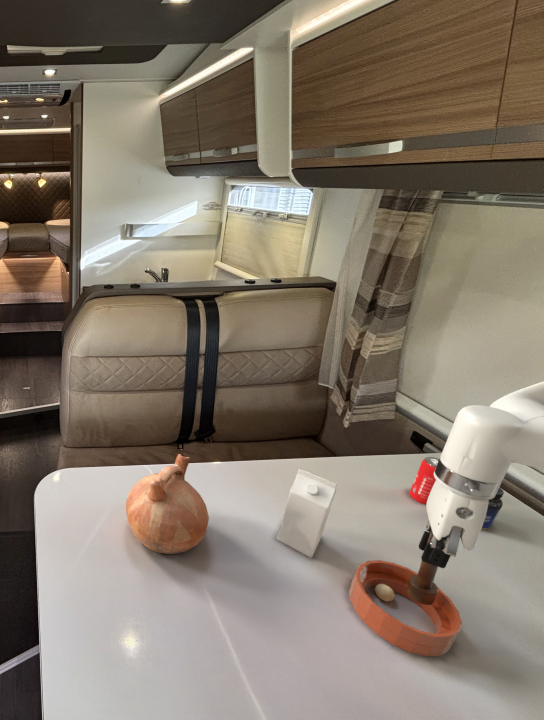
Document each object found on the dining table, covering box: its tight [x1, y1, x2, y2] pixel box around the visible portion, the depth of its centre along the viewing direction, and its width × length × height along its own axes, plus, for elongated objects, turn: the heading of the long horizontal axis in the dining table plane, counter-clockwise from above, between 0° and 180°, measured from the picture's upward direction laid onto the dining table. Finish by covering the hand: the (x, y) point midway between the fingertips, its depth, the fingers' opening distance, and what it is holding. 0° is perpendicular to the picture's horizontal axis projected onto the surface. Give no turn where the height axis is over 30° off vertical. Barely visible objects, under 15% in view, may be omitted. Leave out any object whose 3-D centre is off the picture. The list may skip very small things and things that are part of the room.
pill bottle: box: [481, 486, 505, 531], centre depth 101 cm, size 6×6×11 cm
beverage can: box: [409, 456, 440, 505], centre depth 108 cm, size 5×5×12 cm
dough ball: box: [374, 584, 395, 602], centre depth 85 cm, size 3×3×3 cm
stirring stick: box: [406, 530, 446, 605], centre depth 78 cm, size 4×4×15 cm
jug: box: [125, 453, 210, 555], centre depth 97 cm, size 18×18×20 cm
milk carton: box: [276, 468, 338, 558], centre depth 95 cm, size 7×7×19 cm
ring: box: [348, 559, 463, 658], centre depth 81 cm, size 15×15×6 cm
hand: (431, 556), depth 78 cm, fingers closed on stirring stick, 2 cm apart
